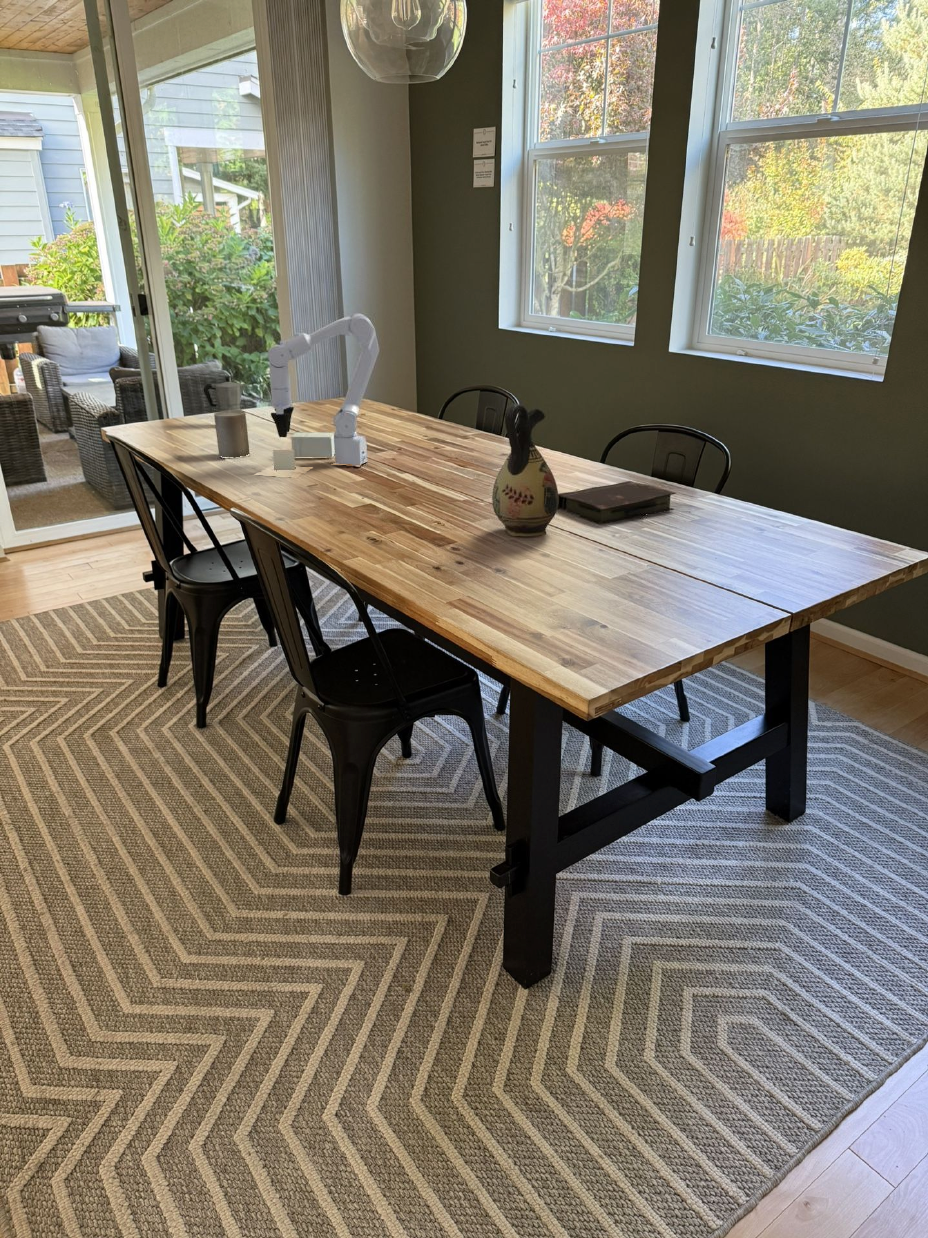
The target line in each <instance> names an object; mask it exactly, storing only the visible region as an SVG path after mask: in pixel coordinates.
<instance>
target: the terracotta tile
mask: <svg viewBox="0 0 928 1238" xmlns="http://www.w3.org/2000/svg"><path fill="white" fill-rule="evenodd" d="M272 455H273V457H272V458H273V464H274V470H276V471H277V470H295V469H296V467H295V465H296V459H295V453H294V450H292V449H273V451H272Z"/></svg>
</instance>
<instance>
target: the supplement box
mask: <svg viewBox="0 0 928 1238" xmlns="http://www.w3.org/2000/svg"><path fill="white" fill-rule="evenodd" d="M334 433H335V432H295V433H294V434H293V435H292V436H290V438H291V439H290V440H291V442H290V443H291V450H294V453H295V457H327V458H331V457H333V456H334V454H335V450H334ZM334 457H335V456H334Z"/></svg>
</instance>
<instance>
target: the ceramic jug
mask: <svg viewBox="0 0 928 1238" xmlns="http://www.w3.org/2000/svg"><path fill="white" fill-rule="evenodd" d="M516 416H518V420H517V422H515V420H516ZM545 417H546V416H545V413H544V411H542V410H541V409H539V408H536V407H535V408H534V409H531V410H530V411H529V410H528V408H527V407H525V406H524V405H522V404H519V403H513V404H512V405H509V406H508V407H507V408H506V410H505V416H504V418H505V419H504V424H505V430H506V434H507V438H508V442H509V446H510V453H509V454H508V455H507V458H506V459H505V460H504V463H503V464H502V466H501V467H500V469H499V471H498V473H497V475H496V478H495V480H494V485H493V488H492V493H491V494H492V495H491V496H492V498H491V501H492V502H491V503H492V508H493V511H494V515H495V516H496V517H497V518H498V520H499V521H500V522H501V523H502V525H504V527H505V530H506V533H507V534H508V535H510V537H539V536H542V535H546V534H547V530H546V529H547V528H548V526H549V524H550V523H551V521H552V520H553V519H554V518H555V516H556V514H557V510H558V509H557V508H558V503H559V496H558V494H559V490H558V486H557V481H556V479H555V477H554V474H553V472H552V469H551V468H550V467H549V465H548V464H547V462H546V460H545V458H544V457H543V455H542V454H541V452H540V451H539V450H538V448H537V447H536V444H535V443H534V441H533V439H532V438H533V437H532V431H533V429H534V428H535V427H536V426H537V425H538V424H540V423H541V422H542V421H543V420H544V419H545ZM515 423H516V424H515Z"/></svg>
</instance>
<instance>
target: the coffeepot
mask: <svg viewBox="0 0 928 1238" xmlns="http://www.w3.org/2000/svg"><path fill="white" fill-rule="evenodd" d="M224 379H225V381H224V382H221V383H207V384H205V386H204V387H203V392H204V396H205V398H206V399H207V401H208V404H209V405H210V407H213V408H216V407H217V403H213V398H212V397H211V394H210V391H209V390H215V391H216V396H217V400H218V403H219V404H220V411H219V412H221V411H229V410H230V411H231V410H239V411H242V409H241V406H240V404H241V402H242V400H241V398H242V395H243V393H244V391H245V389H246V388H247V387H248V385H246V384H244V383H238V382H234V381H233V382H232V381H230V379H231V378H230V376H225V377H224Z"/></svg>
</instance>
